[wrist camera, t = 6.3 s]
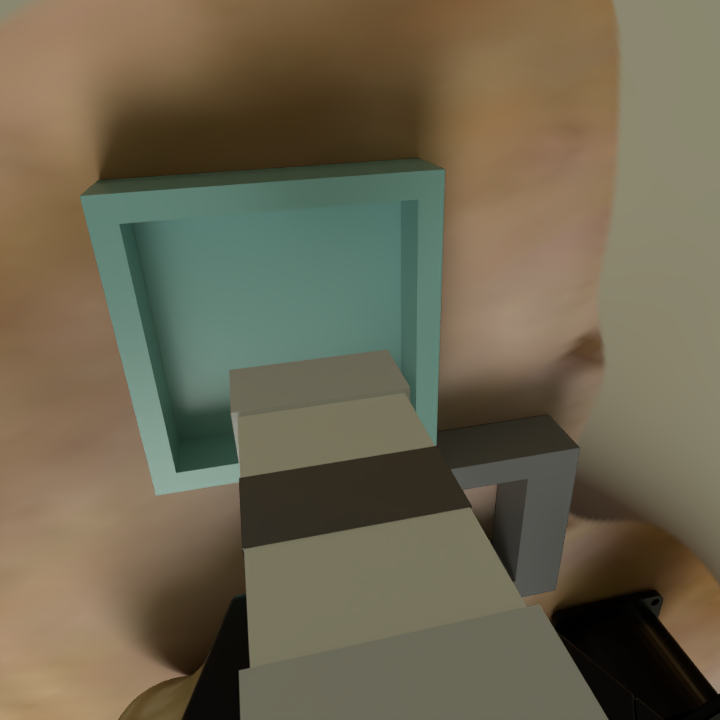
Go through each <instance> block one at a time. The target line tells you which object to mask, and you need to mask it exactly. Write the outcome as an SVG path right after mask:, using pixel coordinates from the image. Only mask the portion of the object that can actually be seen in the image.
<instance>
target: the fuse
mask: <svg viewBox="0 0 720 720" xmlns="http://www.w3.org/2000/svg"><path fill="white" fill-rule="evenodd" d="M229 378H230V409H231V418H232V424H233V430H234V436H235V443H236V449H237V455H238V461H239V467H240V478H239V491H240V512H241V533H242V550H243V555H244V561H245V578H246V598H247V618H248V637H249V657H250V668H248V669H243V670H239V692H240V720H608V718H607V716H606V715H605V713H604V711H603V710H602V708H601V706H600V705H599V703H598V701H597V700H596V698H595V696H594V694H593V693H592V691H591V689H590V688H589V686H588V684H587V683H586V681H585V679H584V678H583V676H582V674H581V673H580V671H579V669H578V668H577V666H576V664H575V663H574V661H573V659H572V658H571V656H570V654H569V653H568V651H567V649H566V648H565V646H564V644H563V643H562V641H561V639H560V638H559V636H558V634H557V633H556V631H555V629H554V627H553V626H552V624H551V622H550V621H549V619H548V617H547V616H546V614H545V612H544V611H543V609H542V607H541V606H540V604H538V605H533V606H528V607H527V606H526V604H525V603H524V601H523V599H522V597H521V596H520V594H519V592H518V590H517V589H516V587H515V585H514V583H513V582H512V580H511V578H510V576H509V575H508V573H507V571H506V569H505V568H504V566H503V564H502V562H501V561H500V559H499V557H498V555H497V554H496V552H495V550H494V548H493V547H492V545H491V543H490V541H489V540H488V538H487V536H486V534H485V533H484V531H483V529H482V527H481V526H480V524H479V522H478V520H477V519H476V517H475V515H474V513H473V512H472V510H471V504H470V502H469V501H468V499H467V497H466V495H465V494H464V492H463V490H462V488H461V487H460V485H459V483H458V481H457V480H456V478H455V476H454V475H453V473H452V471H451V469H450V468H449V466H448V464H447V462H446V461H445V459H444V457H443V455H442V454H441V452H440V450H439V448H438V447H437V446H435V445H434V443H433V441H432V440H431V438H430V436H429V434H428V433H427V431H426V429H425V427H424V426H423V424H422V422H421V420H420V419H419V417H418V415H417V413H416V412H415V410H414V408H413V406H412V405H411V403H410V386H409V385H408V383H407V381H406V380H405V378H404V376H403V375H402V373H401V371H400V370H399V368H398V366H397V365H396V363H395V361H394V359H393V358H392V356H391V354H390V353H389V351H388V349H387V350H380V351H372V352H364V353H356V354H349V355H341V356H333V357H326V358H318V359H310V360H302V361H295V362H287V363H279V364H272V365H264V366H256V367H248V368H241V369H233V370H229Z"/></svg>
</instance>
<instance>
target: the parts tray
mask: <svg viewBox="0 0 720 720" xmlns="http://www.w3.org/2000/svg"><path fill="white" fill-rule="evenodd" d="M444 187H445V169H443V168H441V167H439V166H436V165H434V164H432V163H429V162H427V161H425V160H422V159H420V158H413V159H399V160H384V161H370V162H355V163H341V164H326V165H312V166H297V167H283V168H268V169H254V170H239V171H225V172H210V173H196V174H181V175H167V176H152V177H138V178H123V179H109V180H98V181H97V182H96V183H94V184H93V185H92V186H91V187H90V188H89V189H87V190H86V191H85V192H84V193H83V194H82V195H80V199H81V203H82V207H83V210H84V214H85V218H86V222H87V226H88V230H89V234H90V238H91V242H92V246H93V250H94V254H95V258H96V262H97V265H98V269H99V273H100V277H101V281H102V285H103V289H104V293H105V297H106V301H107V305H108V309H109V313H110V317H111V320H112V324H113V328H114V332H115V336H116V340H117V344H118V348H119V352H120V356H121V360H122V364H123V368H124V372H125V375H126V379H127V383H128V387H129V391H130V395H131V399H132V403H133V407H134V411H135V415H136V419H137V423H138V427H139V430H140V434H141V438H142V442H143V446H144V450H145V454H146V458H147V462H148V466H149V470H150V474H151V478H152V481H153V485H154V489H155V493H156V496H157V495H163V494H169V493H175V492H181V491H188V490H194V489H200V488H206V487H212V486H219V485H225V484H231V483H237V482H239V478H240V467H239V461H238V455H237V449H236V443H235V436H234V430H233V424H232V418H231V409H230V378H229V370H233V369H241V368H248V367H256V366H264V365H272V364H279V363H287V362H295V361H302V360H310V359H318V358H326V357H333V356H341V355H349V354H356V353H364V352H372V351H380V350H387V349H388V351H389V353H390V354H391V356H392V358H393V359H394V361H395V363H396V365H397V366H398V368H399V370H400V371H401V373H402V375H403V376H404V378H405V380H406V381H407V383H408V385H409V386H410V403H411V405H412V406H413V408H414V410H415V412H416V413H417V415H418V417H419V419H420V420H421V422H422V424H423V426H424V427H425V429H426V431H427V433H428V434H429V436H430V438H431V440H432V441H433V443H434V445H435V446H436V443H437V411H438V379H439V347H440V315H441V283H442V251H443V219H444Z"/></svg>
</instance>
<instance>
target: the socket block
mask: <svg viewBox="0 0 720 720" xmlns="http://www.w3.org/2000/svg"><path fill="white" fill-rule="evenodd" d="M436 446H437V447H438V448H439V450H440V452H441V454H442V455H443V457H444V459H445V461H446V462H447V464H448V466H449V468H450V469H451V471H452V473H453V475H454V476H455V478H456V480H457V481H458V483H459V485H460V487H461V488H462V490H465V489H471V488H476V487H482V486H488V485H494V484H498V485H497V496H496V506H495V517H494V528H493V538H492V542H490V543H491V545H492V547H493V548H494V550H495V552H496V554H497V555H498V557H499V559H500V561H501V562H502V564H503V566H504V568H505V569H506V571H507V573H508V575H509V576H510V578H511V580H512V582H513V583H514V585H515V587H516V589H517V590H518V592H519V594H520V596H521V597H525V596H530V595H535V594H540V593H544V592H549V591H554V590H556V585H557V579H558V573H559V567H560V562H561V556H562V550H563V544H564V538H565V533H566V527H567V521H568V515H569V509H570V503H571V498H572V492H573V486H574V480H575V474H576V468H577V463H578V457H579V451H580V447H579V446H578V445H577V444H576V443H575V442H574V441H573V440H572V439H571V438H570V437H569V436H568V435H567V434H566V433H565V431H564V430H563V429H562V428H561V427H560V426H559V425H558V424H557V423H556V422H555V421H554V420H553V419H552V418H551V417H550V416H549V415H544V416H538V417H531V418H525V419H518V420H512V421H505V422H499V423H493V424H486V425H480V426H473V427H467V428H460V429H454V430H448V431H441V432H437V443H436Z"/></svg>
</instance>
